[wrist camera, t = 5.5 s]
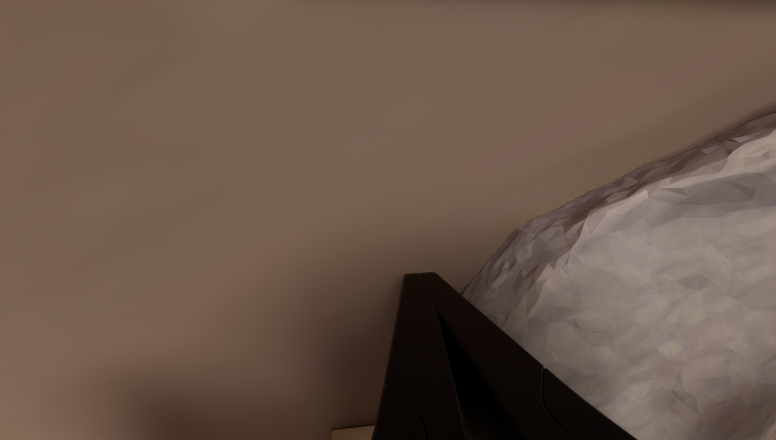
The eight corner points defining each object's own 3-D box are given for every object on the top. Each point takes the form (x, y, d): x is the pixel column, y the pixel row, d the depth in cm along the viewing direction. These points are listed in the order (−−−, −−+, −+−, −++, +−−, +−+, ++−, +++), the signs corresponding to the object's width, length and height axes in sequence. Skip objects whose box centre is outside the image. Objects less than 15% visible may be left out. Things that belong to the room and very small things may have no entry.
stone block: (405, 264, 12) (560, 420, 15) (422, 376, 7) (640, 568, 10) (751, -9, 9) (858, 247, 12) (1110, -95, 5) (1141, 345, 8)
